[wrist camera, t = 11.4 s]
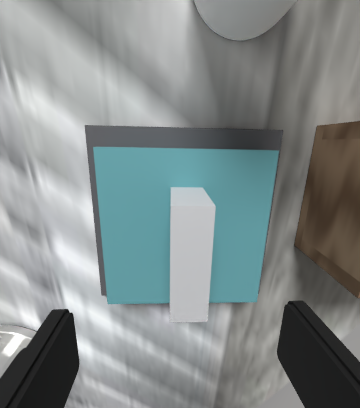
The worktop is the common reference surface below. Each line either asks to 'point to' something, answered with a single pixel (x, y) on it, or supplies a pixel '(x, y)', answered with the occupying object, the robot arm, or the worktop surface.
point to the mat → (170, 139)
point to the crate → (333, 204)
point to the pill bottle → (242, 16)
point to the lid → (183, 225)
